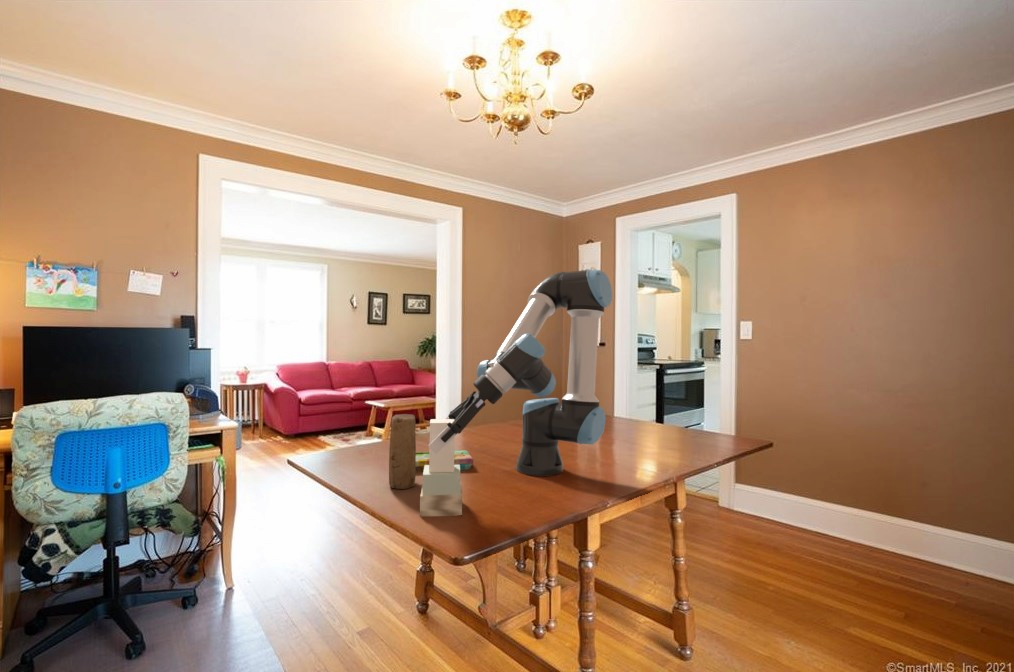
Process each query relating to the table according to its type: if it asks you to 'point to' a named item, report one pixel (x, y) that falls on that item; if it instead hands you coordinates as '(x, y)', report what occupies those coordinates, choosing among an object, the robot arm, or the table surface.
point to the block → (402, 452)
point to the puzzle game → (459, 459)
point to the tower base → (441, 504)
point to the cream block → (446, 455)
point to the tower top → (441, 482)
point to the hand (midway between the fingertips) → (432, 443)
